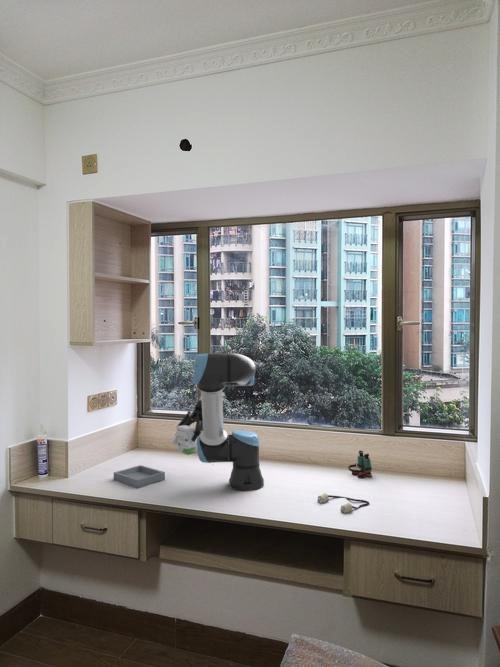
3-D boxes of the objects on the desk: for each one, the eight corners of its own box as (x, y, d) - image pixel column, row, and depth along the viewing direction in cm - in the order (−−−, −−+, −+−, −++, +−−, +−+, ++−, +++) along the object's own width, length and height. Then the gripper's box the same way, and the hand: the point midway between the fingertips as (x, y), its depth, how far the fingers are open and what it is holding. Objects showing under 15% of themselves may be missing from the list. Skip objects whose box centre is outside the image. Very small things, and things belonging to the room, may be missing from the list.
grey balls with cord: (343, 494, 215) (343, 486, 215) (373, 506, 202) (373, 497, 202) (315, 502, 207) (314, 494, 206) (344, 515, 193) (344, 506, 193)
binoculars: (344, 453, 240) (362, 449, 244) (346, 475, 241) (364, 471, 244) (355, 458, 232) (373, 453, 235) (357, 481, 232) (376, 476, 236)
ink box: (196, 452, 237) (195, 427, 236) (187, 455, 234) (185, 429, 233) (186, 449, 244) (185, 424, 243) (177, 451, 241) (176, 425, 240)
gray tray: (164, 479, 237) (164, 472, 237) (137, 488, 226) (137, 480, 226) (140, 472, 249) (140, 465, 249) (113, 480, 238) (113, 472, 238)
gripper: (225, 411, 242) (201, 453, 231) (194, 406, 256) (170, 445, 246) (216, 401, 238) (191, 444, 227) (185, 397, 252) (160, 436, 241)
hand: (180, 445), depth 236 cm, fingers closed on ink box, 9 cm apart
